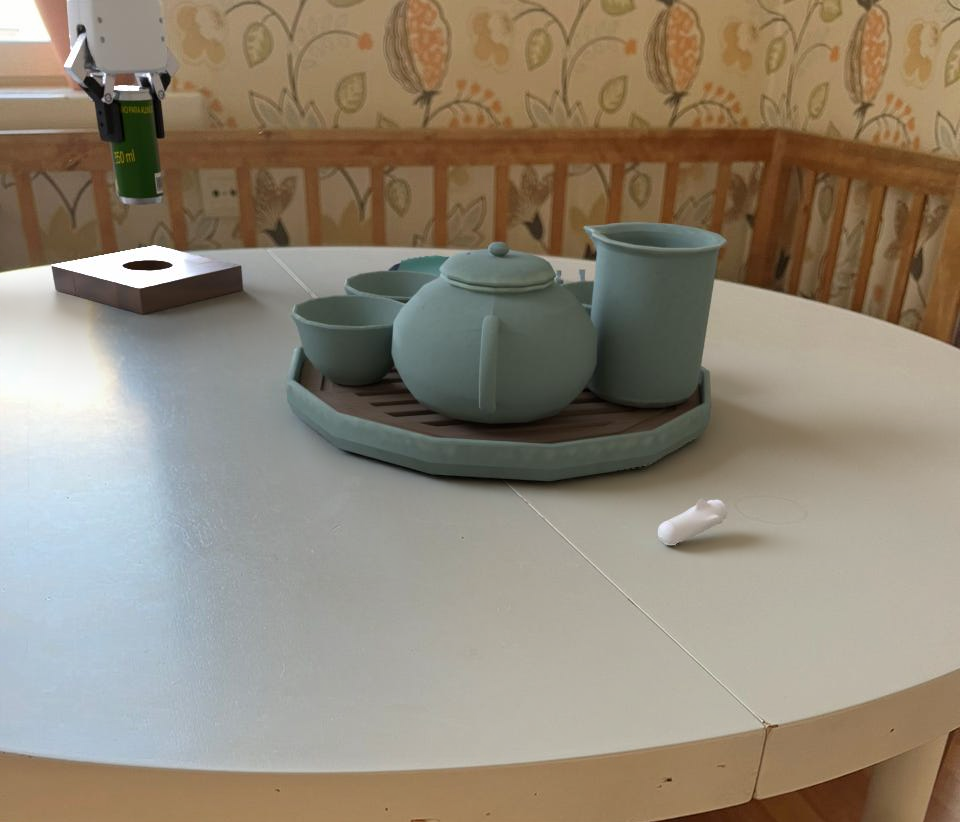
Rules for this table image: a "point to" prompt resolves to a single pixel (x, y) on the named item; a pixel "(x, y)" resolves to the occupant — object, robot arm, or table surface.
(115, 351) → the table surface
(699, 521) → the small white plastic part
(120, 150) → the beer can
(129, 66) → the robot arm
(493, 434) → the tea set
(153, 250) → the holder
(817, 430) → the table surface
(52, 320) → the table surface
